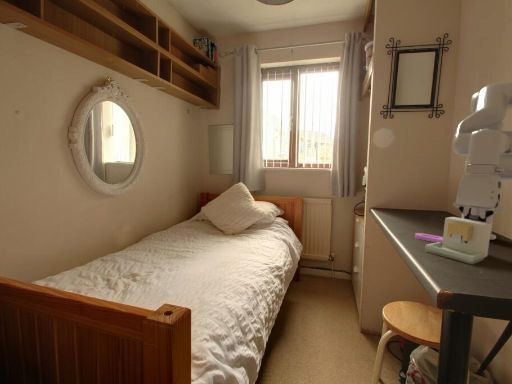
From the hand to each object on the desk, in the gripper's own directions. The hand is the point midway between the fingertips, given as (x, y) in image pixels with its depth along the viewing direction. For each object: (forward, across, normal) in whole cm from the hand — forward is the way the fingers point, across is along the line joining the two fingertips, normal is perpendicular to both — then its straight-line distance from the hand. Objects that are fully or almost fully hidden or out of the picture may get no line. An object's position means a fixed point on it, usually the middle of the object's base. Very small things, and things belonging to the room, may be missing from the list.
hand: (473, 228), depth 85 cm
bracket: (+7, +11, -1) cm, 13 cm away
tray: (+7, 0, +12) cm, 14 cm away
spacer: (+2, 0, +10) cm, 10 cm away
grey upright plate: (+3, 0, +5) cm, 6 cm away
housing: (+7, 0, +5) cm, 9 cm away
